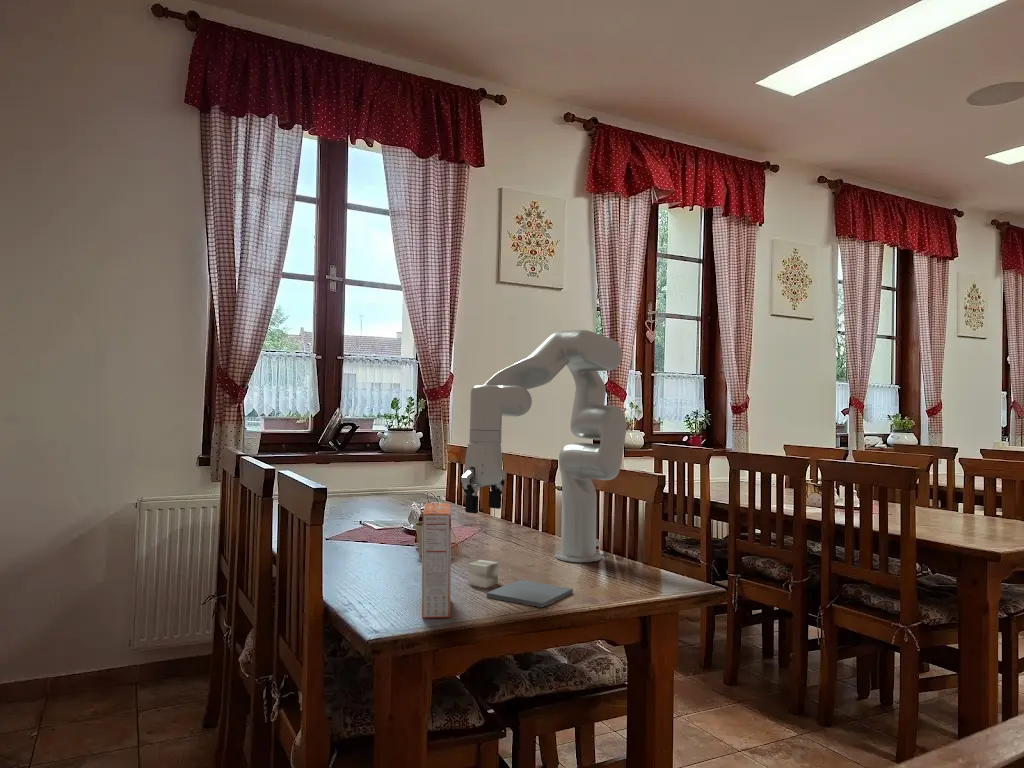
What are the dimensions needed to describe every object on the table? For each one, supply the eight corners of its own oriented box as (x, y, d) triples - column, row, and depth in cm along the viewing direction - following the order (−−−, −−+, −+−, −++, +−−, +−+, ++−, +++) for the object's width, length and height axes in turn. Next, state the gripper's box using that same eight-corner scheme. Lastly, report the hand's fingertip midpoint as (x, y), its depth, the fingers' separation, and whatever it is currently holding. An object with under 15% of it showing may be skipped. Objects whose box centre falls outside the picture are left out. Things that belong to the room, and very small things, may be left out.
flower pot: (406, 556, 197) (407, 525, 197) (423, 550, 206) (424, 519, 206) (437, 560, 193) (438, 527, 194) (453, 553, 202) (453, 522, 202)
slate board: (519, 583, 170) (519, 579, 170) (572, 593, 163) (572, 588, 163) (486, 597, 159) (486, 592, 159) (542, 608, 151) (542, 603, 151)
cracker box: (422, 599, 156) (424, 502, 157) (450, 599, 157) (452, 502, 157) (419, 619, 142) (421, 512, 143) (450, 619, 143) (452, 512, 143)
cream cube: (480, 580, 173) (480, 559, 173) (497, 583, 171) (498, 562, 171) (468, 585, 169) (468, 563, 169) (485, 588, 166) (486, 566, 167)
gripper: (492, 435, 180) (490, 505, 179) (450, 437, 165) (448, 513, 165) (518, 437, 176) (516, 507, 175) (477, 439, 161) (475, 516, 161)
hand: (483, 510), depth 170 cm, fingers open, 9 cm apart
